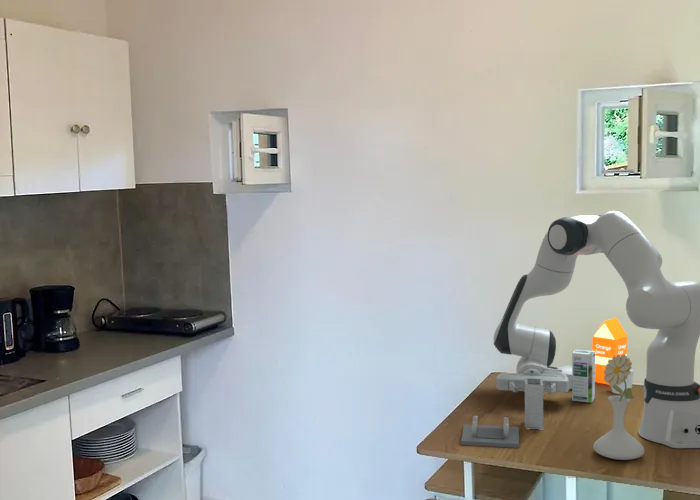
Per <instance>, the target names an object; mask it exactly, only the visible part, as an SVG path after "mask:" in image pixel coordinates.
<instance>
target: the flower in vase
mask: <svg viewBox="0 0 700 500" xmlns="http://www.w3.org/2000/svg"><path fill="white" fill-rule="evenodd" d="M632 364H633V361H631V360H630V358H628V355H627V356H625V354H623V355H621V357H620V355H619V354H618V355H617V356H613V358H612V360H611V359H610V360H608V364H607V365H606V368H605V371H604V374H606V375H605V376H604V380H605V382H606V383H608V382H609V383H608V384H609V385H608V384H607V385H608V386H609V387H611V385H612V387H613V388H614V389H615V390H616V391H618V392H619V393H621V394H622V395H621V394H620V395H610V396H607V399H608V401H610V404H611V406H612V411H613V424H612V425H613V426H612V428H611V429H610V430H609V431H608V432H606V433H605V434H603V435H601V436H600V437H598V439H596V440H595V441H594V443H593V445H592V447H593V450H594V451H595V452H596V454H599V456H602V457H605V458H609V459H611V460H612V459H613V460H620V461H628V460H629V461H630V460H634V459H638V458H640V457H643V455H644V453H645V449H644V446H643V445H642V443H640V441H638V440H637V439H636V438H635V437H633V436H632V435H631V434H630V433H628V431H627V430H626V428H625V413H626V408H627V405H628V404H629V403H630V402H631V400H633V399H634V396H633V391H632V390H631V388H627V389H626V387H627V385H626V381H625V380H626V379H627V376H628V375H629V374H630V373H631V371H630V370H631V369H632V366H633V365H632ZM623 382H624V383H625V389H624V392H623V391H622V389H621V388H620V387H618V386H617V385H619V384H621V383H623ZM616 384H617V385H616ZM624 393H625V395H624Z"/></svg>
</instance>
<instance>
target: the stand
mask: <svg viewBox="0 0 700 500" xmlns="http://www.w3.org/2000/svg"><path fill="white" fill-rule="evenodd" d="M478 418H479V417H478V416H477V415H472V422H471V424H465V423H464V424H463V427H462V434H461V439H460V446H476V447H478V446H479V447H495V448H496V447H499V448H515V449H519V448H520V436H519V433H520V431H519V426H509V424H510V423H509V422H510V421H509V417H508V416H505V417H503V425H484V424H478V423H479V422H478V421H479V420H478Z"/></svg>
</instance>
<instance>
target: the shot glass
mask: <svg viewBox="0 0 700 500" xmlns="http://www.w3.org/2000/svg"><path fill="white" fill-rule="evenodd" d="M630 371H631V373H630V374H629V375H628V376H627V379H626V380H625V381H626V385H627V387H626V389H627V388H631V390H632V389H633V388H632V387H633V382H634V381H633V380H634V371H635V370H634V369H632V368H631V370H630ZM616 385H617V384H616ZM617 386H618V387H620V388H621V389H622V391H623V392H624V389H625V383H624V382H623V383H621V384H619V385H617ZM610 388H611V393H613V394H616V395H620V396H621V395H622V394H621V393H619V392H618V391H616V390H615V389H614V388H613V387H612V385H611V386H610ZM623 396H625V393H624V395H623Z"/></svg>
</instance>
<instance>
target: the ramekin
mask: <svg viewBox="0 0 700 500" xmlns="http://www.w3.org/2000/svg"><path fill="white" fill-rule="evenodd" d="M556 367H557V368H561V369H562V373H564V374H565V375H566V376H567V377H568V380H569V390H570V389H572V365H560V366H556Z"/></svg>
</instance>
